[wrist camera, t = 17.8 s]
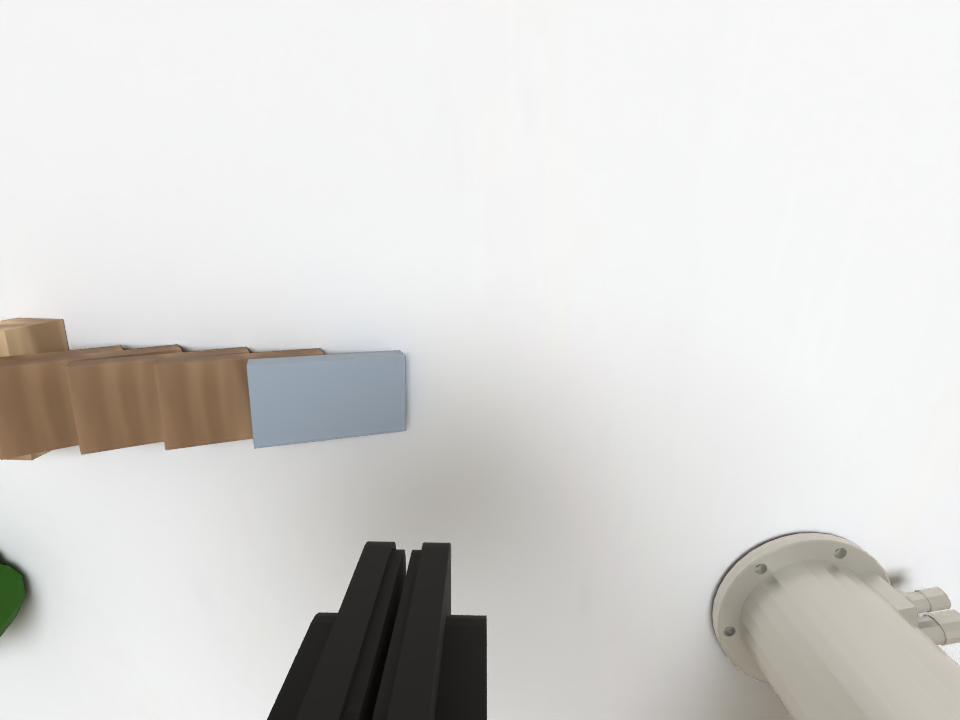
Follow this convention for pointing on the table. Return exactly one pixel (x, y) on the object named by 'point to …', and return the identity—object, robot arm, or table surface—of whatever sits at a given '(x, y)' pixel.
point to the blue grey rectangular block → (326, 397)
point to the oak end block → (31, 344)
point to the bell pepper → (9, 595)
